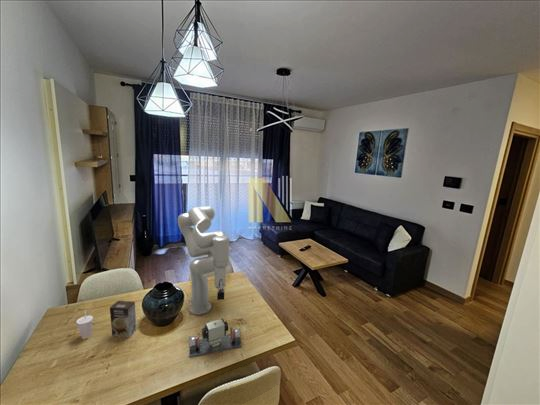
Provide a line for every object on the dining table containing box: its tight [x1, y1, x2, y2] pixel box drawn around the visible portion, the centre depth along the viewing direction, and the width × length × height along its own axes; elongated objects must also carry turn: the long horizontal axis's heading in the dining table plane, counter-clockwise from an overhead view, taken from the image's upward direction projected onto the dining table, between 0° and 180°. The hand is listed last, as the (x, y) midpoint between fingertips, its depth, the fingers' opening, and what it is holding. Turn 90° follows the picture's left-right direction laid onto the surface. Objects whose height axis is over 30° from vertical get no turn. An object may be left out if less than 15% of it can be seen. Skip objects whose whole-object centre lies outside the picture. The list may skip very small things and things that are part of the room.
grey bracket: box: [188, 326, 242, 359], centre depth 115 cm, size 24×9×7 cm, turn 107°
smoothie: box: [76, 310, 94, 339], centre depth 116 cm, size 6×6×14 cm
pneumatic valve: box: [201, 318, 229, 347], centre depth 114 cm, size 6×12×12 cm, turn 120°
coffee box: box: [109, 300, 137, 338], centre depth 120 cm, size 9×6×16 cm
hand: (220, 293), depth 118 cm, fingers open, 9 cm apart
